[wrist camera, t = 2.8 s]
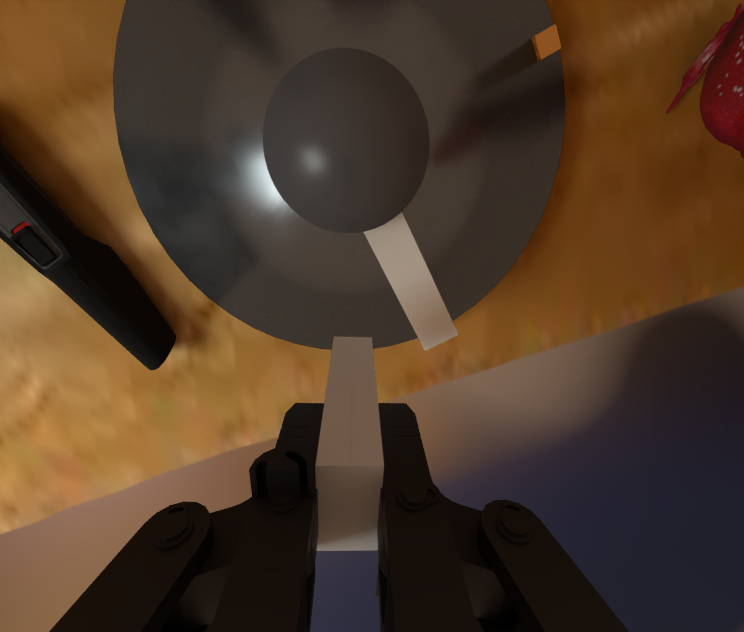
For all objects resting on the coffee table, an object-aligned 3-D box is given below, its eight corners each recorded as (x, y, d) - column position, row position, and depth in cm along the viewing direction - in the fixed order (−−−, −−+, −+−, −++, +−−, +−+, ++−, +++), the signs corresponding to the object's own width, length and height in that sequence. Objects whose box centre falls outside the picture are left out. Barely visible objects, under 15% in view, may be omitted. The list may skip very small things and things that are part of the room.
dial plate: (29, 45, 16) (-8, 30, 14) (461, -262, 13) (476, -324, 12) (285, 390, 24) (280, 406, 22) (590, 242, 21) (610, 248, 20)
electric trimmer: (156, 360, 23) (129, 387, 20) (-70, 137, 18) (-153, 130, 15) (200, 332, 23) (179, 356, 20) (-18, 93, 17) (-94, 76, 14)
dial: (262, 125, 16) (227, 106, 12) (374, 57, 16) (384, 8, 11) (380, 334, 21) (388, 380, 16) (471, 289, 20) (508, 324, 15)
